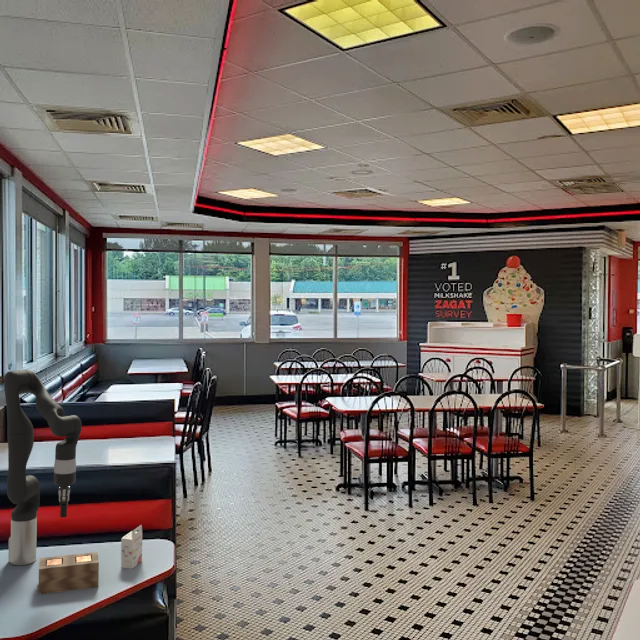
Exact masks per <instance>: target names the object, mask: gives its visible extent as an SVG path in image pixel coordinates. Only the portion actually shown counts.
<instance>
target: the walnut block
mask: <svg viewBox="0 0 640 640" xmlns="http://www.w3.org/2000/svg"><path fill="white" fill-rule="evenodd" d="M81 556H91V561H87V562H77V563H76V557H81ZM54 559H62V564H59V565H50V566H47V560H54ZM99 566H100V561H99V553H98V551H95V552H87V553H86V552H85V553H76V554H66V555H57V556H45V557H39V564H38V593H37V594H38V595H42V594H52V593H53V594H54V593H59V592H67V591H69V592H70V591H75V590H83V589H84V590H85V589H92V588H99V582H100V581H99V577H100V575H99V574H100V572H99V571H100V567H99Z"/></svg>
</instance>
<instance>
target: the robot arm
mask: <svg viewBox="0 0 640 640" xmlns="http://www.w3.org/2000/svg"><path fill="white" fill-rule="evenodd" d="M3 388H4V398H5V405H6V418H7V432H6V433H7V450H8V451H7V454H8V455H7V456H8V458H7V459H8V461H7V462H8V465H7V466H8V467H7V468H8V469H7V479H6V480H7V481H6V482H7V483H6V494H7V497H8V500H9V501H10V502H11V503H12V504H13V505H16V506H15V507H14V508H13V509H12V511H11V514H10V536H9V538H8V557H7V559H8V562H9V563H10V565H13V566H26V565H30V564H32V563H34V562H35V561H36V560H37V533H38V531H37V526H38V525H37V524H38V523H37V522H38V521H37V520H38V512H39V509H40V497H41V486H40V481H39V479H38V478H37V477H35V476H34V475H32V474H29V475H28V474H27V464H28V462H29V459H30V456H31V454H32V451H33V448H34V443H35V439H34V438H35V436H34V425H33V424H32V421H31V420H30V418H29V417H28V416H27V414H26V413H25V412H24V410H23V408H22V407H21V402H20V395H22V394H29V393H30V394H32V395H34V396H35V407H36V410H37V412H38V413H39V414H40V415H41V416H42V417H43V419H45V421H46V422H47V424H48V426H49V429H50V432H51V433H52V434H53V435H54V436H55V437H61V438H62V437H65V438H64V439H63V440H61V441H58V442H57V443H56V445H55V453H54V454H55V456H54V457H55V459H54V463H53V464H54V465H53V484H54V485H56V486H59V487H58V502H59V507H60V510H59V511H60V513H59V514H60V515H59V517H60V518H67V516H68V506H69V503H68V502H69V501H70V494H71V486H70V485H73V484H75V483H76V479H77V478H76V477H77V461H76V459H77V458H76V453H77V452H76V451H77V445H78V441H79V439H80V436H81V432H82V429H83V428H82V426H83V425H82V420H81V418H80V417H79V416H78V415H75V414H74V415H72V414H71V415H65V409H64V408H63V406H61V405H60V403H58V402H57V400H55V399H54V397H52V396H51V394H50V393H49V391H48V390H47V389H46V387H45V386H44V384H43V382H42V381H41V379H40V378H39V377H38V375H37V374H36V373H35V371H33V370H32V369H17V370H11V371H7V372H6V373H5V375H4V378H3ZM8 562H7V563H8Z"/></svg>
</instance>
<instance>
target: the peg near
mask: <svg viewBox="0 0 640 640" xmlns="http://www.w3.org/2000/svg"><path fill="white" fill-rule="evenodd" d="M59 564H62V559H54V560H47V566H50V565H59Z"/></svg>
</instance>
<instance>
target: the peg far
mask: <svg viewBox="0 0 640 640" xmlns="http://www.w3.org/2000/svg"><path fill="white" fill-rule="evenodd" d="M87 561H91V556H81V557H76V563H77V562H87Z"/></svg>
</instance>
